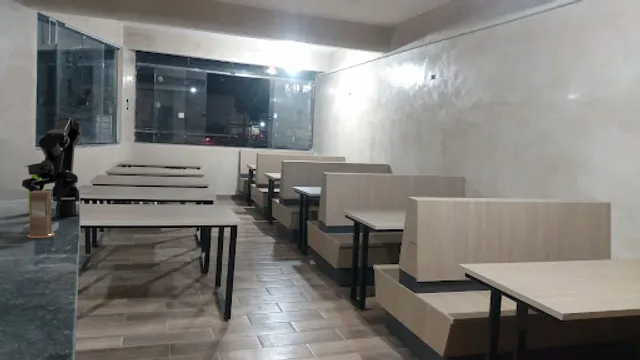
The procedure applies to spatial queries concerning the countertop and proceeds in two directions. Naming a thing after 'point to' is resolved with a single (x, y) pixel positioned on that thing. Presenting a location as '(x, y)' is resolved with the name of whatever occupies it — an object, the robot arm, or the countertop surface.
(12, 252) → the countertop surface
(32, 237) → the brown curved piece
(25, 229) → the gray tray
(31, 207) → the walnut box
